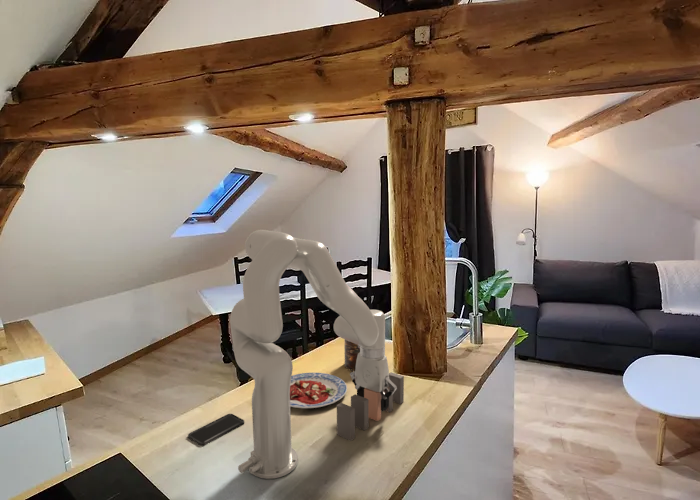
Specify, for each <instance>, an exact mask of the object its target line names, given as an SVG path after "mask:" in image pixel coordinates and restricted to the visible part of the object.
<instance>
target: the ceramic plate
mask: <svg viewBox="0 0 700 500" xmlns="http://www.w3.org/2000/svg"><path fill="white" fill-rule="evenodd" d="M347 391H348V386H347V383H346V382H345V380H343V379H342V378H340V377H338V376H336V375H332V374H330V373H325V372H302V373H296V374H292V377H291V383H290V408H295V409H314V408H315V409H317V408H321V407H326V406H329V405H332V404H335V403H336V402H338V401H340V400H341V399H342V398H344V397H345V395H346V394H347Z"/></svg>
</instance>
